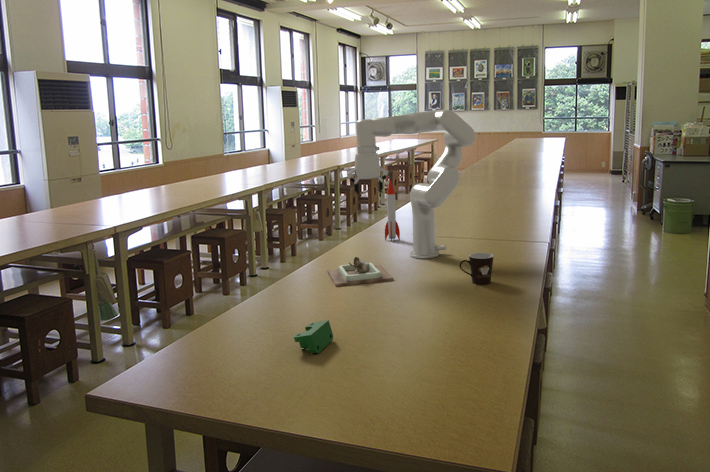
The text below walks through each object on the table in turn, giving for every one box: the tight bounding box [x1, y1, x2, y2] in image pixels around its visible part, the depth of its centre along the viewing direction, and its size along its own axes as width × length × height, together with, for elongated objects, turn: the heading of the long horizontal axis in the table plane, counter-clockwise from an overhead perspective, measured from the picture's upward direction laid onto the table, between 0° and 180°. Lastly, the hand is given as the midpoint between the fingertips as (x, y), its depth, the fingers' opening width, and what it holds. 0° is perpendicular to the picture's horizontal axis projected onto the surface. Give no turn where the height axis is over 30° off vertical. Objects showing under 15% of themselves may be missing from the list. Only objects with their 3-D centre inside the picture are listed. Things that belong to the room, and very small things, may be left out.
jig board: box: [327, 262, 394, 287], centre depth 218 cm, size 22×20×3 cm
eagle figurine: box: [348, 256, 369, 274], centre depth 216 cm, size 8×7×9 cm
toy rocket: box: [384, 179, 401, 243], centre depth 276 cm, size 6×6×30 cm
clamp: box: [293, 319, 334, 354], centre depth 153 cm, size 12×6×9 cm, turn 152°
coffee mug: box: [459, 252, 494, 286], centre depth 203 cm, size 12×9×10 cm
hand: (368, 192), depth 230 cm, fingers open, 9 cm apart
